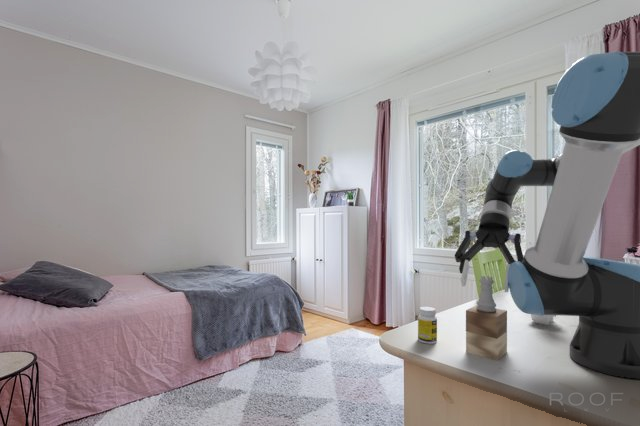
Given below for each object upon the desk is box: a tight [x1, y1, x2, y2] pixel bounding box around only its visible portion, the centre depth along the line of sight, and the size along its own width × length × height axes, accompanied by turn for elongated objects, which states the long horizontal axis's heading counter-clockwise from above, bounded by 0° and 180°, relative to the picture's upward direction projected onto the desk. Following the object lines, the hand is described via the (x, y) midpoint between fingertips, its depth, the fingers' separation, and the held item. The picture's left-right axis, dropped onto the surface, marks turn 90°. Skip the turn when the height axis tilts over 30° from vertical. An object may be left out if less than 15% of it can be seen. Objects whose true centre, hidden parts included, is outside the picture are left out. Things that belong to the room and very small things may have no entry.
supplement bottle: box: [417, 306, 438, 345], centre depth 89 cm, size 5×5×8 cm
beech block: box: [465, 330, 508, 361], centre depth 82 cm, size 7×7×5 cm
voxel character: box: [530, 314, 557, 326], centre depth 105 cm, size 7×12×15 cm
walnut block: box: [465, 304, 508, 339], centre depth 82 cm, size 7×7×5 cm
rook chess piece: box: [476, 275, 498, 313], centre depth 82 cm, size 4×4×8 cm
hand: (483, 286), depth 85 cm, fingers open, 9 cm apart
